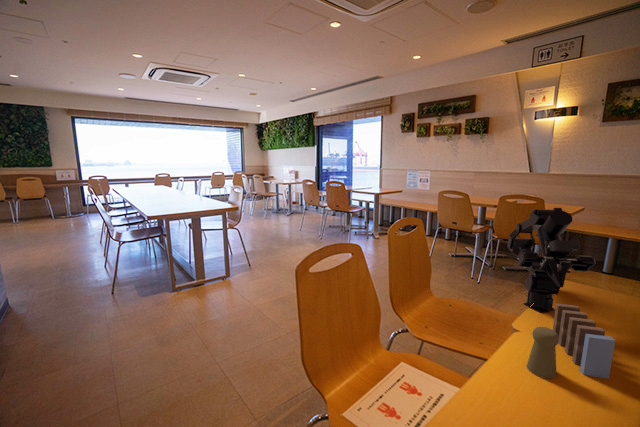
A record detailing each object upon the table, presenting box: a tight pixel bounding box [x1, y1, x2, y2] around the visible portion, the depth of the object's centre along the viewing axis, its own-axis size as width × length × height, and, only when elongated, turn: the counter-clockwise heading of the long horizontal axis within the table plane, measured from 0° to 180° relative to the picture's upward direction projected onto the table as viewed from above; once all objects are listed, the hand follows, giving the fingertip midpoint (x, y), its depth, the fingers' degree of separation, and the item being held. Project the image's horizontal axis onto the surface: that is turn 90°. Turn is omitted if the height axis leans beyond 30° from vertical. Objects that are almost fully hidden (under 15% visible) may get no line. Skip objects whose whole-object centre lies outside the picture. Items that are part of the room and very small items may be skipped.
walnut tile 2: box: [558, 310, 588, 347], centre depth 84 cm, size 2×5×10 cm, turn 73°
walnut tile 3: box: [564, 317, 597, 356], centre depth 80 cm, size 2×5×10 cm, turn 73°
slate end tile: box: [579, 334, 616, 380], centre depth 72 cm, size 2×5×10 cm, turn 73°
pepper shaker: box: [526, 326, 559, 380], centre depth 74 cm, size 6×6×11 cm
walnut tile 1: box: [552, 303, 581, 336], centre depth 87 cm, size 2×5×10 cm, turn 73°
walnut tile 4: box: [571, 325, 606, 366], centre depth 76 cm, size 2×5×10 cm, turn 73°
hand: (561, 287), depth 91 cm, fingers closed
